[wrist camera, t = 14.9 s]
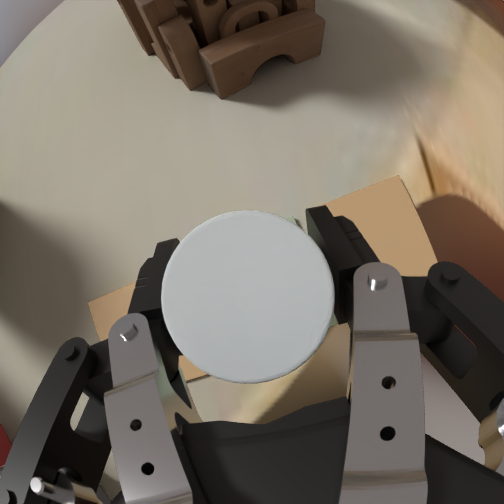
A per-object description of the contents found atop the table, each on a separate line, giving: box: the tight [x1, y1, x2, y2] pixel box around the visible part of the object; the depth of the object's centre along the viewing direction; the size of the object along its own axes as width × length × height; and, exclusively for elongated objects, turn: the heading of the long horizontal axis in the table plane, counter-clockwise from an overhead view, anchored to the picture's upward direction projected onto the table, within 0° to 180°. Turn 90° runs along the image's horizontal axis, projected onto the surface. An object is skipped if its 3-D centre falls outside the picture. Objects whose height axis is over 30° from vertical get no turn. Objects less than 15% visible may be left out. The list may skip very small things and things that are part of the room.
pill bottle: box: [161, 210, 335, 383], centre depth 11 cm, size 5×5×8 cm
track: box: [88, 175, 438, 381], centre depth 18 cm, size 23×7×1 cm, turn 112°
